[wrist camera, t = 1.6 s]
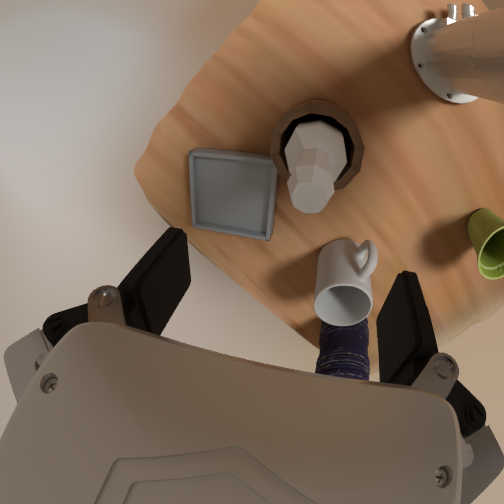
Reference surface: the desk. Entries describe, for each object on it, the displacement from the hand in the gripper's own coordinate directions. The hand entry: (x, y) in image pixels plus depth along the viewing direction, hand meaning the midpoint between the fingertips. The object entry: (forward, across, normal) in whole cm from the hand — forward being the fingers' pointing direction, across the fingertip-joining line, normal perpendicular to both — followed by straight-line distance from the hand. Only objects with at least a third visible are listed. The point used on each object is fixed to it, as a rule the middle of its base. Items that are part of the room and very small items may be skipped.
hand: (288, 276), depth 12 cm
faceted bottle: (+30, 0, 0) cm, 30 cm away
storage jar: (+30, -12, +34) cm, 47 cm away
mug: (+30, -8, +18) cm, 36 cm away
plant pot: (+30, -30, +6) cm, 43 cm away
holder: (+30, 0, 0) cm, 30 cm away
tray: (+30, +11, +10) cm, 33 cm away
